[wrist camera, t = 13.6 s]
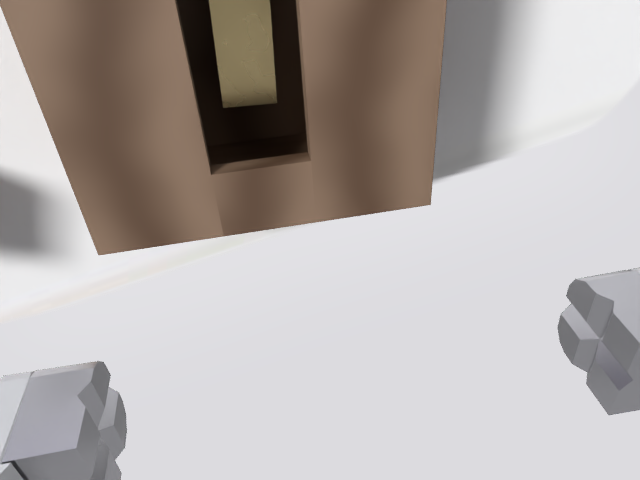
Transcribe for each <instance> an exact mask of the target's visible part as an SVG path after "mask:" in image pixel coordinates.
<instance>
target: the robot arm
mask: <svg viewBox="0 0 640 480" xmlns="http://www.w3.org/2000/svg"><path fill="white" fill-rule="evenodd" d="M566 296H567V298H568V299H569V300H570V302H571V304H570V305H569V306H568V307H567V308H566V309H565V310H564V311H563V312H562V313H561V316H560V320H559V324H558V333H559V339H560V343H561V346H562V348H563V350H564V353H565V354H566V356H567V357H568V358H569V360H570V361H571V363H572V364H573V365H575V366H577V367H579V368H580V369H583V370H584V371H586V372H587V382H586V384H587V386H588V387H589V388H590V390H591V391H592V392H593V394H594V395H595V397H596V398H597V399H598V401H599V402H600V404H601V405H602V406H603V408H604V409H605V411H606V412H607V414H608V415H613V414H619V413H624V412H630V411H636V410H640V268H636V269H630V270H624V271H618V272H612V273H607V274H602V275H596V276H591V277H585V278H580V279H575V280H574V281H573V282H572V283H571V284H570V285H569V289H568V292H567V295H566ZM109 381H110V373H109V371H108V369H107V367H106V365H105V364H104V362H100V361H97V362H90V363H83V364H76V365H70V366H63V367H56V368H49V369H43V370H36V371H33V372H26V373H19V374H12V375H5V376H3V377H2V378H1V379H0V480H121V471H120V469H119V467H118V466H117V464H116V462H115V459H116V458H117V457H118V456H119V454H120V453H121V452H122V451H123V449H124V448H125V442H126V433H127V428H126V413H125V409H124V405H123V401H122V399H121V396H120V394H119V393H118V392H117V391H115V390H114V389H111V388H110V387H109Z"/></svg>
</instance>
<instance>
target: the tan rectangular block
mask: <svg viewBox="0 0 640 480" xmlns="http://www.w3.org/2000/svg"><path fill="white" fill-rule="evenodd" d="M209 6H210V13H211V21H212V28H213V36H214V43H215V51H216V58H217V66H218V73H219V80H220V88H221V95H222V103H223V108H228V107H239V106H251V105H262V104H274V103H277V95H276V80H275V66H274V52H273V37H272V23H271V9H270V0H209Z"/></svg>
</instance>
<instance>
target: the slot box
mask: <svg viewBox="0 0 640 480" xmlns="http://www.w3.org/2000/svg"><path fill="white" fill-rule="evenodd" d="M446 4H447V0H270V9H271V23H272V37H273V52H274V66H275V80H276V95H277V103H274V104H262V105H251V106H239V107H228V108H223V103H222V95H221V88H220V80H219V73H218V66H217V58H216V51H215V43H214V36H213V28H212V21H211V13H210V6H209V0H0V6H1V9H2V11H3V14H4V16H5V19H6V21H7V24H8V26H9V29H10V31H11V34H12V37H13V39H14V42H15V44H16V47H17V49H18V52H19V54H20V57H21V59H22V62H23V64H24V67H25V70H26V72H27V75H28V77H29V80H30V82H31V85H32V87H33V90H34V92H35V95H36V97H37V100H38V103H39V105H40V108H41V110H42V113H43V115H44V118H45V120H46V123H47V125H48V128H49V131H50V133H51V136H52V138H53V141H54V143H55V146H56V148H57V151H58V153H59V156H60V158H61V161H62V164H63V166H64V169H65V171H66V174H67V176H68V179H69V181H70V184H71V186H72V189H73V192H74V194H75V197H76V199H77V202H78V204H79V207H80V209H81V212H82V214H83V217H84V219H85V222H86V225H87V227H88V230H89V232H90V235H91V237H92V240H93V242H94V245H95V247H96V250H97V252H98V255H104V254H111V253H117V252H124V251H130V250H137V249H144V248H150V247H157V246H163V245H170V244H176V243H183V242H189V241H196V240H203V239H209V238H216V237H222V236H229V235H235V234H242V233H249V232H255V231H262V230H268V229H275V228H281V227H288V226H294V225H301V224H308V223H314V222H321V221H327V220H334V219H340V218H347V217H353V216H360V215H367V214H373V213H380V212H386V211H393V210H399V209H406V208H412V207H418V206H425V205H430V204H431V192H432V180H433V168H434V155H435V143H436V130H437V117H438V105H439V92H440V79H441V67H442V54H443V42H444V29H445V16H446Z"/></svg>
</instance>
